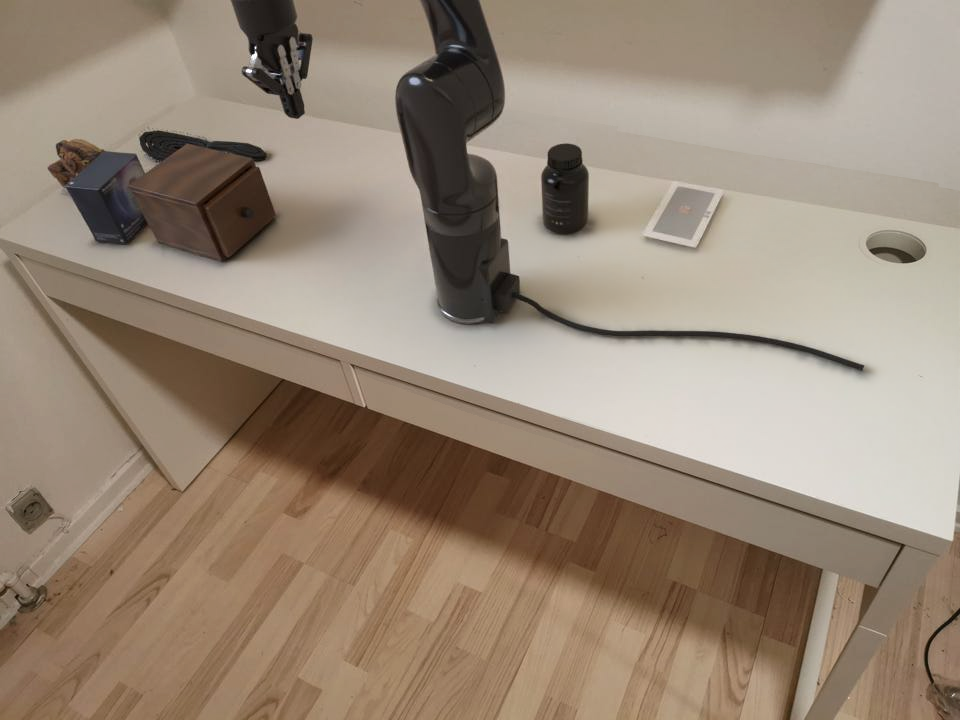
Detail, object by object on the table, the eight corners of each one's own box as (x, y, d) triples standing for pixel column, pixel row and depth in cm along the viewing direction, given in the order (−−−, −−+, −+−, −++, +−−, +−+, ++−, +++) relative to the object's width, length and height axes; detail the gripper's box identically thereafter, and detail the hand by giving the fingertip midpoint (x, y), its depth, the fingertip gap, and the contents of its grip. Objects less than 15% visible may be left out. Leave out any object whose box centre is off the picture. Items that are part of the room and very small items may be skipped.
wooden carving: (53, 197, 124) (21, 146, 116) (71, 183, 126) (42, 132, 119) (127, 209, 119) (98, 157, 112) (144, 195, 122) (118, 142, 114)
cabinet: (273, 216, 114) (253, 158, 106) (222, 262, 106) (195, 203, 99) (211, 200, 119) (187, 143, 111) (157, 243, 111) (127, 185, 104)
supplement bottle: (552, 206, 109) (551, 135, 101) (594, 214, 107) (597, 142, 98) (535, 231, 105) (533, 160, 96) (578, 240, 103) (580, 168, 94)
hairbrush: (251, 156, 122) (126, 141, 127) (256, 175, 125) (134, 159, 130) (272, 132, 127) (152, 119, 132) (277, 150, 130) (159, 136, 135)
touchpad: (640, 241, 101) (642, 229, 100) (672, 186, 110) (674, 174, 108) (694, 254, 98) (696, 241, 97) (722, 196, 107) (725, 184, 106)
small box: (129, 246, 111) (98, 189, 104) (94, 242, 113) (61, 186, 105) (164, 207, 118) (137, 151, 111) (131, 205, 120) (102, 149, 112)
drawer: (282, 217, 112) (265, 168, 105) (235, 259, 105) (214, 210, 99) (217, 200, 117) (198, 153, 110) (169, 239, 110) (145, 191, 104)
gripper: (247, 8, 82) (289, 142, 95) (312, -31, 90) (343, 98, 103) (199, 3, 85) (247, 134, 98) (267, -34, 93) (303, 91, 106)
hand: (296, 115), depth 100 cm, fingers closed
